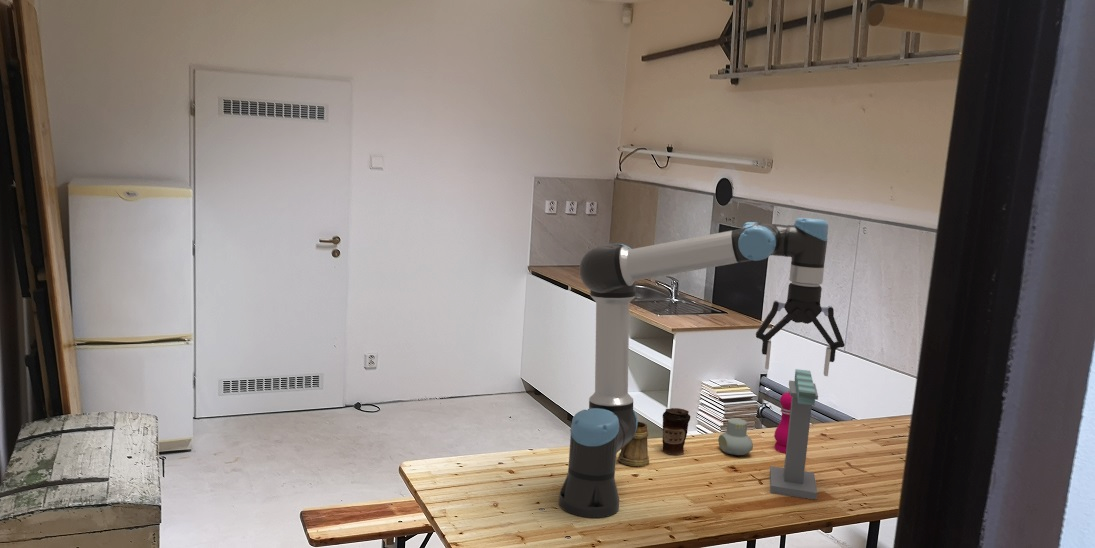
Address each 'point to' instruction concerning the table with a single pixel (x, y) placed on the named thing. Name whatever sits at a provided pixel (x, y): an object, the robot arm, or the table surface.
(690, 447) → the table surface
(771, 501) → the table surface
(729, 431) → the air freshener
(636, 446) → the wooden mug
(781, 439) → the pepper mill
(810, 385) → the block
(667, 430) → the coffee cup
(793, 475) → the stand
